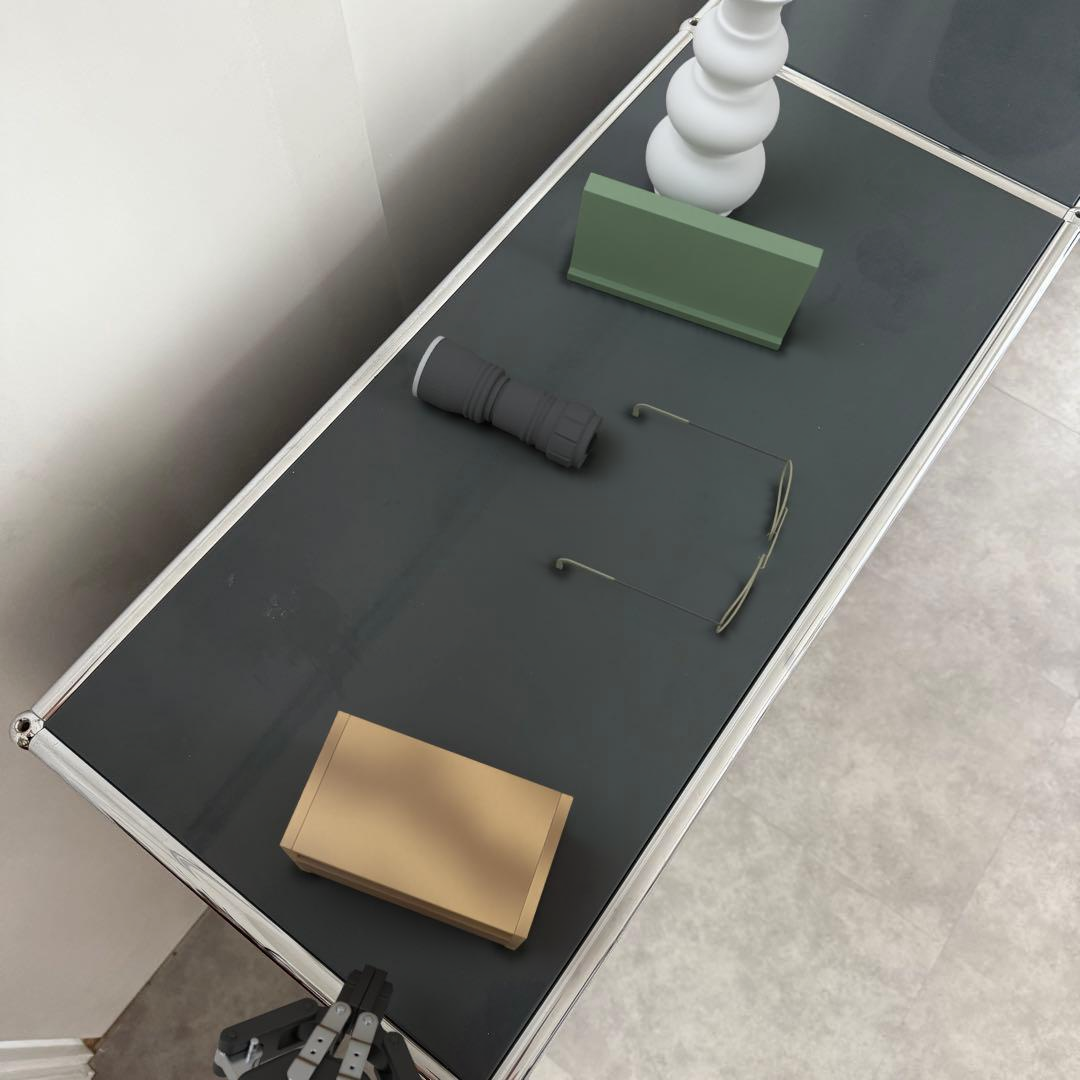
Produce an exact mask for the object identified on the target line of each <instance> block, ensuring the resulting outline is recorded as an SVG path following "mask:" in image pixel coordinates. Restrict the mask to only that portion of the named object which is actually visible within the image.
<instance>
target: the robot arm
mask: <svg viewBox="0 0 1080 1080" xmlns="http://www.w3.org/2000/svg"><path fill="white" fill-rule="evenodd" d="M388 974H389V971H386V970H384V969H382V968H378V967H376V966H373V965H371V964H368V963H365V965H364V967H363V969H362V970H359V969H357V968H354V969H353V970H352V971H350V972H349V974H348V975H347V978H346V979H345V982H344V983H343V986H342V987H341V990H340V991H339V993H338V996H337V998H336V999H335V1001H334V1002H333V1003H332V1004H330V1005H327V1006H323V1005H321V1006H320V1005H319V1004H318V1002H317V1001H316V1000H315V999H313V998H311V997H304V998H300V999H298V1000H296V1001H293V1002H291V1003H287V1004H285V1005H283V1006H279V1007H277V1008H274V1009H272V1010H270V1011H266V1012H264V1013H261V1014H259V1015H255V1016H254V1017H251V1018H249V1019H246V1020H243V1021H241V1022H237V1023H236V1024H233V1025H231V1026H227V1027H226V1028H224V1029H222V1031H221V1032H220V1035H219V1038H218V1042H217V1045H216V1049H215V1053H214V1056H213V1058H214V1059H213V1063H212V1066H211V1068H212V1069H211V1070H212V1073H213V1074H214V1075H215V1076H217V1077H218V1078H227V1079H228V1080H372V1079H371V1077H370V1076H369V1075H368V1074H367V1072H365V1070H364V1068H365V1065H366V1063H367V1062H368V1063H369V1064H371V1065H372V1067H373V1073H374V1075H375V1079H376V1080H423V1078H422V1077H421V1074H420V1073H419V1070H418V1068H417V1066H416V1062H415V1061H414V1058H413V1056H412V1054H411V1051H410V1049H409V1047H408V1045H407V1042H406V1040H405V1038H404V1036H403V1035H402V1034H401V1033H400V1032H398V1031H395V1030H391V1031H387V1030H386V1029H385V1028H384V1027H383V1025H382V1022H383V1019H384V1017H385V1015H386V1012H387V1010H388V1008H389V1005H390V1001H391V998H392V994H393V993H394V984H393V982H390V981H388V980H387V978H388ZM346 1035H348V1036H350V1038H349V1041H348V1045H347V1047H346V1050H345V1053H344V1055H343V1058H341V1057H335V1055H336V1054H337V1052H338V1050H339V1049H340V1047H341V1045H342V1043H343V1040H344V1039H345V1037H346ZM300 1047H301V1048H300Z"/></svg>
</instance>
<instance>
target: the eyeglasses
mask: <svg viewBox="0 0 1080 1080" xmlns="http://www.w3.org/2000/svg"><path fill="white" fill-rule="evenodd" d="M632 409H633V410H632V413H631V414H632V416H633V417H635V418H638V417H639V414H640V412H639V411H640V409H648V410H650V411H653V412H656V413H658V414H661V415H663V416H665V417H669V418H670V419H674V420H675V421H678V422H681V423H684V424H686V425H690V426H692V427H695V428H697V429H700V430H703V431H705V432H708V433H711V434H712V435H715V436H719V437H721V438H723V439H726V440H728V441H731V442H733V443H735V444H737V445H741V446H744V447H746V448H748V449H751V450H754V451H756V452H758V453H762V454H764V455H767V456H769V457H772V458H774V459H776V460H780V461H781V462H784V463H785V465H784V468H783V470H782V473H781V478H780V481H779V488H778V496H777V503H776V509H775V512H774V513H775V514H774V517H773V518H774V519H773V523H772V527H771V530H770V532H768V533H767V534H766V537H768V539H767V541H768V542H771V541H772V539H773V536H774V534H775V536H774V539H773V541H772V543H771V545H770V548H769V550H768V553H767V555H766V554H765V553H762V555H761V556H757V559H759V561H758V564H757V566H756V568H755V570H754V572H753V573H752V575H751V577H750V579H749V580H748V582H747V584H746V585H745V587H744V588H743V589H742V591H741V592H740V594H739V595H738V597H737V598H736V599H735V600H734V602H733V603H732V604H731V606H730V607H729V608H728V610H727V611H726V612H725V614H724V615H723V616H722V618H721V620H720V621H719V622H718V621H716V620H713V619H710V618H708V617H705V616H703V615H701V614H699V613H696V612H694V611H691V610H690V609H686V608H684V607H682V606H680V605H678V604H675V603H672V602H671V601H668V600H665V599H663V598H661V597H659V596H656V595H653V594H652V593H649V592H647V591H645V590H642V589H639V588H637V587H634V586H632V585H630V584H628V583H626V582H623V581H620V580H618V579H616V578H615V577H613V576H610V575H608V574H605V573H603V572H601V571H600V570H599V571H598V570H596V569H594V568H592V567H589V566H588V565H587V566H586V565H584V564H582V563H579V562H578V561H576V560H575V561H574V560H572V559H570V558H565V557H561V558H558V559H557V561H556V564H555V568H557V569H559V570H563V567H564V566H563V563H569V564H570V565H573V566H575V567H577V568H581V569H583V570H585V571H588V572H590V573H592V574H595V575H597V576H599V577H601V578H604V579H606V580H609V581H612V582H614V583H617V584H620V585H622V586H624V587H627V588H629V589H632V590H634V591H636V592H639V593H641V594H643V595H645V596H648V597H650V598H653V599H655V600H658V601H660V602H662V603H663V604H667V605H669V606H672V607H674V608H676V609H678V610H680V611H684V612H686V613H689V614H691V615H692V616H696V617H697V618H700V619H702V620H704V621H707V622H710V623H712V624H715V625H717V627H716V629H715V633H716V634H720V633H721V632H722V631H723V630H724V629H725V628H726V627H727V625H728V624H729V623H730V622H731V621H732V619H733V618H734V617H735V615H736V614H737V612H738V611H739V609H740V608H741V606H742V604H743V603H744V601H745V599H746V597H747V595H748V593H749V591H750V589H751V588H752V585H753V583H754V580H755V578H756V576H757V574H758V572H759V570H760V569H761V570H763V569H765V567H766V564H767V561H768V560H769V558H770V556H771V554H772V551H773V549H774V546H775V544H776V542H777V539H778V536H779V533H780V530H781V528H782V525H783V522H784V520H785V518H786V516H787V513H788V510H789V509H788V508H787V507H786V504H787V500H788V497H789V493H790V488H791V484H792V479H793V478H792V477H793V462H792V460H791V459H787V458H784V457H781V456H778V455H777V454H774V453H771V452H769V451H766V450H763V449H761V448H758V447H755V446H754V445H751V444H748V443H746V442H743V441H740V440H738V439H735V438H733V437H730V436H727V435H725V434H722V433H719V432H717V431H715V430H712V429H710V428H707V427H704V426H702V425H699V424H697V423H694V422H692V421H690V420H688V419H686V418H684V417H680V416H678V415H676V414H672V413H671V412H668V411H665V410H663V409H660V408H657V407H656V406H652V405H649V404H646V403H638V404H636V405H634V407H633V408H632ZM788 466H789V478H788V483H787V488H786V491H785V495H784V499H783V502H782V506H781V509H780V502H781V496H782V487H783V481H784V477H785V474H786V471H787V468H788ZM784 509H785V511H784ZM779 510H780V512H779ZM783 513H784V514H783ZM782 515H783V516H782ZM781 517H782V518H781ZM780 520H781V522H780ZM778 525H779V526H778ZM777 527H778V529H777ZM776 530H777V531H776ZM764 559H765V561H764ZM763 562H764V563H763ZM762 563H763V565H762ZM761 565H762V567H761ZM740 599H741V600H740ZM738 602H739V603H738ZM737 603H738V604H737ZM736 604H737V607H736V608H735V610H734V611H733V613H732V614H731V615H730V617H729V618H728V619H727V621H726V622H725V620H726V618H727V617H728V615H729V614H730V612H731V611H732V610H733V608H734V607H735V606H736ZM724 622H725V623H724Z"/></svg>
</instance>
